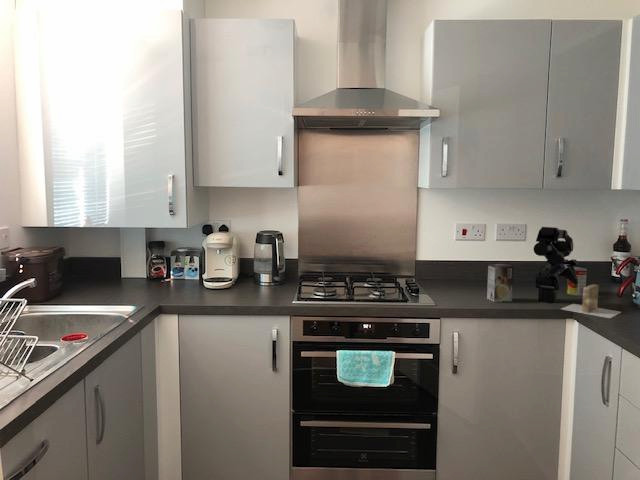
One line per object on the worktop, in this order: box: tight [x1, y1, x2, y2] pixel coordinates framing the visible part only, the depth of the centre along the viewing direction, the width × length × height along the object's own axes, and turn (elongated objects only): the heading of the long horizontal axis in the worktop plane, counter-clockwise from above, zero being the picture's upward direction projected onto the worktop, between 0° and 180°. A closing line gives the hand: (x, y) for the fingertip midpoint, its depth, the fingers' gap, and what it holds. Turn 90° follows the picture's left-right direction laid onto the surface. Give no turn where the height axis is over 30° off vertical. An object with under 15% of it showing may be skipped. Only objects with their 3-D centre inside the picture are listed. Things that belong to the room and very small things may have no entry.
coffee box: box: [486, 263, 514, 303], centre depth 234 cm, size 9×6×16 cm
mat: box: [561, 303, 622, 319], centre depth 216 cm, size 19×14×1 cm
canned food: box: [566, 266, 588, 296], centre depth 249 cm, size 8×8×12 cm
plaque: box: [581, 283, 600, 313], centre depth 216 cm, size 3×10×10 cm, turn 133°
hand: (577, 283), depth 219 cm, fingers closed
